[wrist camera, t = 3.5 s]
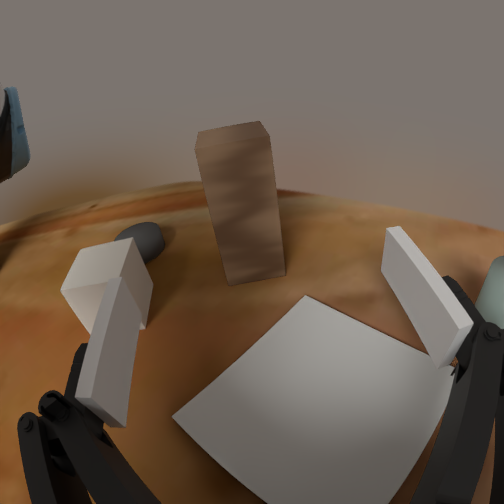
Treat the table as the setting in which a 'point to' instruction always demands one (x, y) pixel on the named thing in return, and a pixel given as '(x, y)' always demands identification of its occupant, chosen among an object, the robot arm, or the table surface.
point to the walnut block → (242, 200)
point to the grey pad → (320, 411)
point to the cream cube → (106, 279)
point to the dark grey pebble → (145, 239)
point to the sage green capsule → (493, 294)
